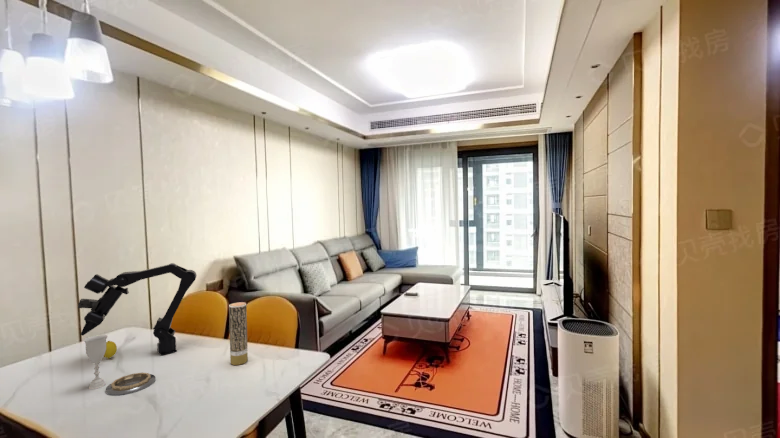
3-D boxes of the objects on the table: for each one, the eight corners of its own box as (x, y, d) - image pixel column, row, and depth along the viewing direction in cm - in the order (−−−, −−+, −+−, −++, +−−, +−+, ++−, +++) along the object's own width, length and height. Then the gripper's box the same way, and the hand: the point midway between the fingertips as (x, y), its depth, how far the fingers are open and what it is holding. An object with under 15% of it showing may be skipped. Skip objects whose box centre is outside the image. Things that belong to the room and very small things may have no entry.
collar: (150, 372, 142) (150, 367, 142) (159, 384, 131) (159, 379, 131) (102, 385, 131) (102, 380, 131) (109, 400, 121) (108, 394, 121)
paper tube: (250, 359, 153) (249, 302, 153) (242, 366, 146) (241, 306, 146) (235, 358, 154) (234, 302, 153) (227, 365, 147) (225, 306, 147)
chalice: (81, 387, 130) (79, 339, 130) (103, 379, 136) (101, 333, 136) (90, 392, 126) (89, 342, 126) (112, 383, 132) (111, 336, 132)
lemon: (110, 361, 154) (109, 343, 154) (97, 361, 154) (97, 343, 154) (120, 356, 159) (119, 338, 159) (108, 356, 159) (107, 338, 159)
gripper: (93, 287, 158) (67, 319, 153) (84, 294, 142) (56, 330, 137) (119, 298, 163) (95, 329, 158) (114, 306, 147) (87, 341, 142)
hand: (83, 332), depth 149 cm, fingers open, 9 cm apart
